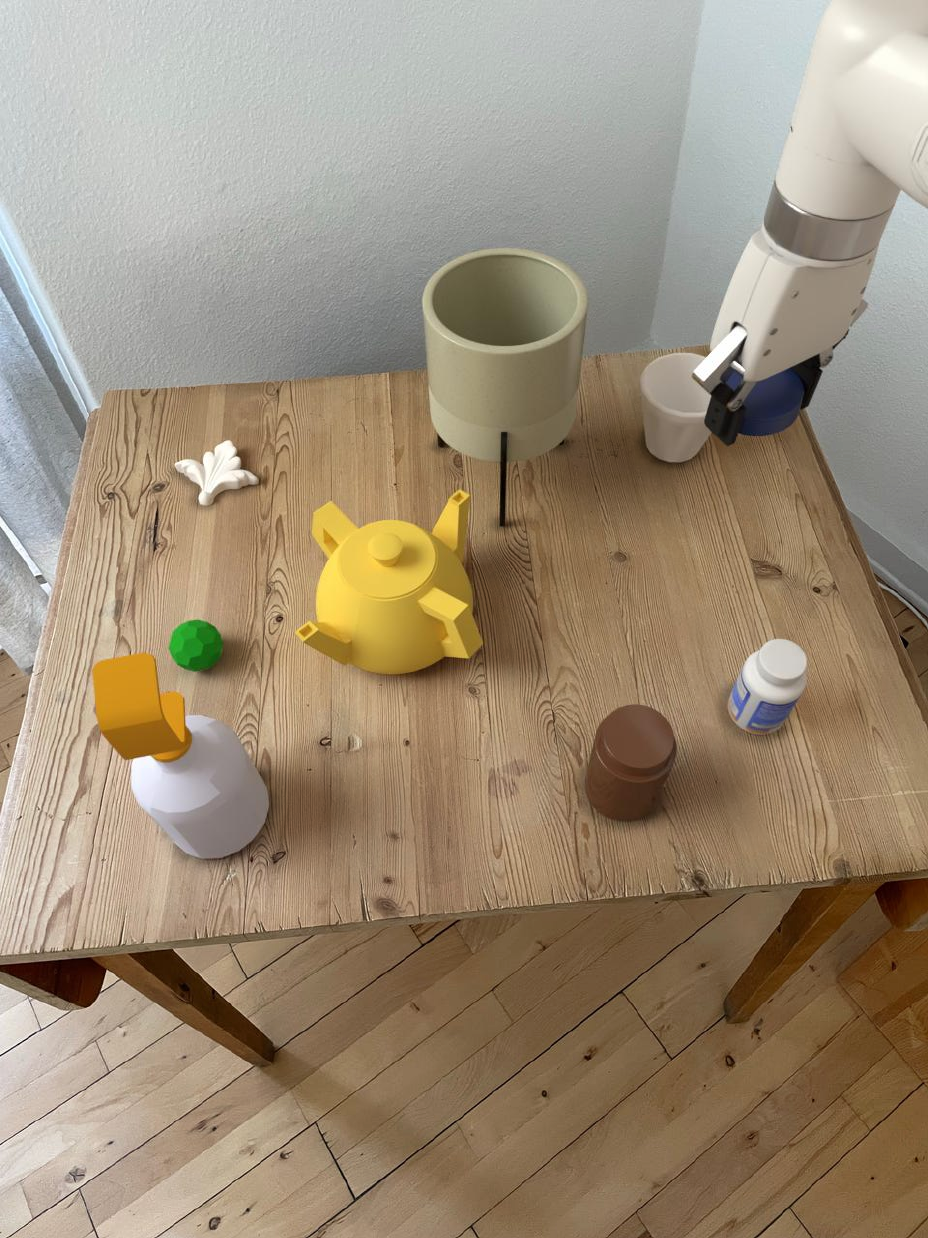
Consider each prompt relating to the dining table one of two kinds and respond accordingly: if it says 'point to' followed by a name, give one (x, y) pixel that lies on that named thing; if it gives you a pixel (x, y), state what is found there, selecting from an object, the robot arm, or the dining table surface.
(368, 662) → the teapot
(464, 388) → the planter
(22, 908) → the dining table surface
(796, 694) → the pill bottle
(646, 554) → the dining table surface
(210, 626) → the polyhedron
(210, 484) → the acanthus leaf ornament
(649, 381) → the cup
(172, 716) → the soap bottle
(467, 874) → the dining table surface
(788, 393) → the jar lid
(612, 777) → the jam jar
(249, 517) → the dining table surface
